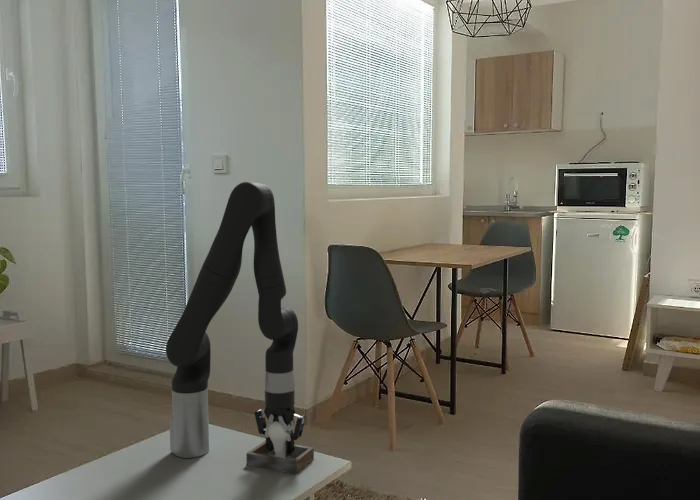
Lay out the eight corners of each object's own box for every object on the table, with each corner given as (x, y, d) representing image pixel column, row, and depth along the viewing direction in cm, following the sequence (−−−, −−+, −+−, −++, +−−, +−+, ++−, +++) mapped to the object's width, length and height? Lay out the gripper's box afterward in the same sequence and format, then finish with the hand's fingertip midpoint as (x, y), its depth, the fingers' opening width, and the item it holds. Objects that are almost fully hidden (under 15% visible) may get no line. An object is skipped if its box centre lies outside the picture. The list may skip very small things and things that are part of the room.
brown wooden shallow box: (246, 464, 173) (246, 453, 172) (266, 450, 182) (266, 439, 181) (295, 474, 167) (295, 462, 167) (313, 458, 176) (313, 447, 176)
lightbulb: (288, 466, 171) (287, 424, 170) (265, 464, 172) (264, 422, 171) (295, 457, 177) (294, 415, 176) (272, 455, 178) (271, 414, 177)
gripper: (247, 388, 172) (248, 453, 174) (297, 395, 166) (298, 462, 168) (262, 380, 179) (263, 442, 180) (311, 386, 173) (311, 451, 175)
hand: (280, 451), depth 174 cm, fingers closed on lightbulb, 5 cm apart
